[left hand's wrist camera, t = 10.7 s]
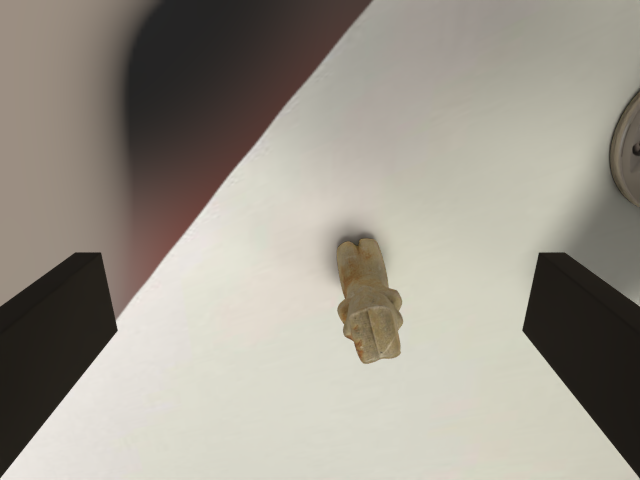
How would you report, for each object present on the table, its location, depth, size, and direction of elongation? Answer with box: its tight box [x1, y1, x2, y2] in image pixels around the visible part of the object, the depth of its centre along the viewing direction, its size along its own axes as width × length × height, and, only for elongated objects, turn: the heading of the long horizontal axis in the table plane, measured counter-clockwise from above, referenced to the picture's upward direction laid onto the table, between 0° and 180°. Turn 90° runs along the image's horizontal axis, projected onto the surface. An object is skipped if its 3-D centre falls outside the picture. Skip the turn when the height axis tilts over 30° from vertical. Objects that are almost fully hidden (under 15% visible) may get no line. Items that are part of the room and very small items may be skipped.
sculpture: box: [337, 239, 403, 364], centre depth 39 cm, size 6×7×15 cm
